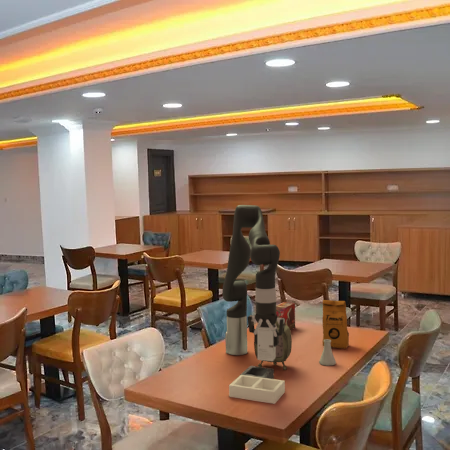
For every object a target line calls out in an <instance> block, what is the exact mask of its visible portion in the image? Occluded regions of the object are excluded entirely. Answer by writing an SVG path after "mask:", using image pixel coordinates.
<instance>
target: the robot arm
mask: <svg viewBox="0 0 450 450" xmlns="http://www.w3.org/2000/svg"><path fill="white" fill-rule="evenodd" d="M232 223H233V227H232V237H231V241H230V248H229V252H228V253H229V254H228V259H227V268H226V273H225V276H224V281H223V284H222V290H221V291H222V292H221V295H222V299H223V300H224V302H228V303H229V302H230V303H231V302H236V303H235V304H234V305H233V306H230V307H229V308H227V310H226V312H225V313H226V332H225V333H224V334H225V338H224V339H225V354H229V355H232V356H243V355H246V354H248V331H249V333H252V334H253V336H254V337H253V340H254V341H253V343H254V342H255V343H256V345H257V328H258V327H268V328H270V330H271V331H274V334H273V335H274V347H276V346H277V345H278V344H279V336H281V335H282V334H283V333H284V327H285V318H278V317H277V315H276V305H277V298H278V297H277V290H276V275H277V274H276V273H277V268H278V264H279V260H280V256H281V254H280V253H281V251H280V249H279V246H277V244H271V242H270V239H269V237H268V235H267V232H266V228H265V221H264V216H263V211H262V209H261V207H260V206H259V205H254V204H252V205H251V204H250V205H249V204H239V205H237V206H236V207H235V210H234V215H233V222H232ZM242 228H246V229H247V228H249V229H250V228H251V229H250V230H249V233H248V241H249V243H248V242H247V240H246V238H245V237H244V234H243V231H242ZM250 246H251V247H250ZM250 261H251V263H252V264H254V265H259V266H261V265H268V266H267V267H266V268H265V269H261V270H259V271H257V272H256V273H255V293H254V295H255V296H254V297H255V301H254V302H255V315H253V314H250V315H248V314H247V311H248V309H247V308H248V306H247V305H248V286H247V283H246V281H245V280H236V279H237V278H238V277H239V276H240V275H241V274H242V273H243V272H244V271H245V270H246V269H247V267H248V266H249V264H250ZM247 315H248V316H247ZM255 321H256V322H257V325H256V327H255V323H254V322H255ZM276 321H278V324H280V325H279V332H278V330H277V326H276V324H275V323H276ZM273 326H274V327H273Z"/></svg>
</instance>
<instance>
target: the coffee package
mask: <svg viewBox="0 0 450 450" xmlns="http://www.w3.org/2000/svg"><path fill="white" fill-rule="evenodd" d="M321 319H322V334H323V335H322V347H324V340H326V339H328V340H331V343H330V344H331V348H334V349H342V350H343V349H345V350H346V349H347V348H348V347H349V345H350V344H349V342H350V341H349V340H350V337H349V336H350V333H349V330H348V315H347V304H346V301H345V300H329V299H327V300H326V299H322V318H321Z"/></svg>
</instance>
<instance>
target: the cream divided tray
mask: <svg viewBox="0 0 450 450" xmlns="http://www.w3.org/2000/svg"><path fill="white" fill-rule="evenodd" d="M285 381H286V380H283V379H282V380H281V379H275V378H273V379H269V378H261V377H254V376H247V375H240V374H239V376H237V378H235V379H234V380H233V381H232V382H231V383H230V384H229V385H228V397H229V398H236V399H242V400H249V401H255V402H259V403H267V404H274V405H276V404H277V402H278V401H279V400H280V398H281V397H282V396H283V395H284V393H286V383H285Z"/></svg>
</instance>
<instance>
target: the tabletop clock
mask: <svg viewBox="0 0 450 450" xmlns="http://www.w3.org/2000/svg"><path fill="white" fill-rule="evenodd" d="M276 311H278V312H279V313H280V311H279V310H277V309H276ZM280 316H281V313H280ZM280 316H278V318H279V317H280ZM275 324H276V326H277V330H278V332H279V325H280V324H278V321H276V323H275ZM292 343H293V340H292V330H290V328H289V327H288V326H286V325H285V327H284V333H283V334H282V335H281V336H279V344H278V345H277V346H276V357H275V359H274V360H273V361H266V362H267V363H272V364H273V366H277V364H278V363H281V364H282V365H283V367H282V369H283V370H284V371H286V370H287V369H288V368H287V366H286V365H285V362H286V361H287V360H288V358H289V357H290V355H291V353H292V347H293V346H292V345H293V344H292ZM253 347H254V354H255V357H256V359H257V360H258V349H257V345H256V343H255V342H254V341H253ZM260 361H261V362H260V363H258V365H257V367H263V363H264V362H265V361H264V360H260Z"/></svg>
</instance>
